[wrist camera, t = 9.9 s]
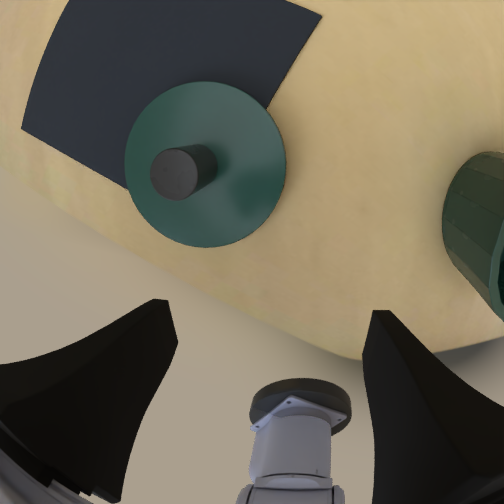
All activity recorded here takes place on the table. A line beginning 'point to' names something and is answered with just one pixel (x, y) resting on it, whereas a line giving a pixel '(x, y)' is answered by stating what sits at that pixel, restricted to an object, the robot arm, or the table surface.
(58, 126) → the mat
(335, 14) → the table surface
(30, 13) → the table surface
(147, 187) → the tin lid
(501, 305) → the tin
